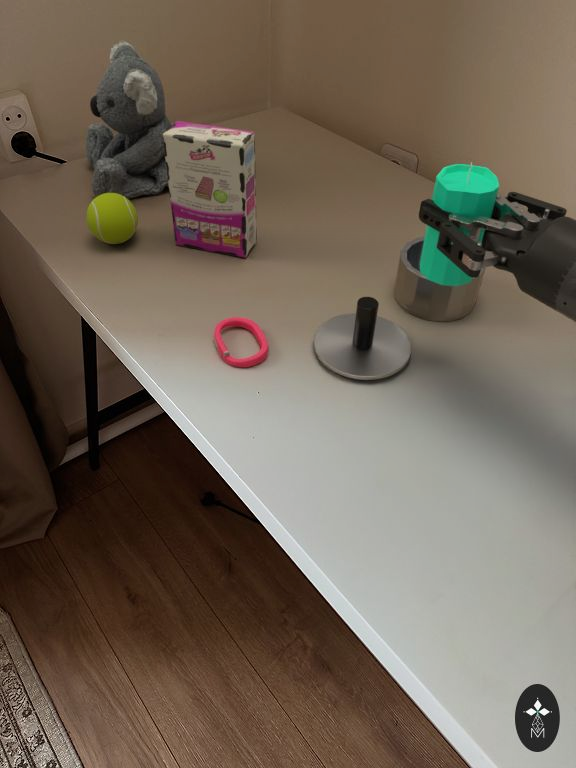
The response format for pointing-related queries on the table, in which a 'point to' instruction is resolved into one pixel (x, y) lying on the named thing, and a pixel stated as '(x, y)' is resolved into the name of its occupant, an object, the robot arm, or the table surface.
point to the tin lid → (362, 343)
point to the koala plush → (128, 128)
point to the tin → (431, 289)
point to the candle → (464, 197)
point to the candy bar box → (212, 187)
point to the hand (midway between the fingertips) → (441, 200)
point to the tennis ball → (112, 218)
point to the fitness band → (250, 326)
